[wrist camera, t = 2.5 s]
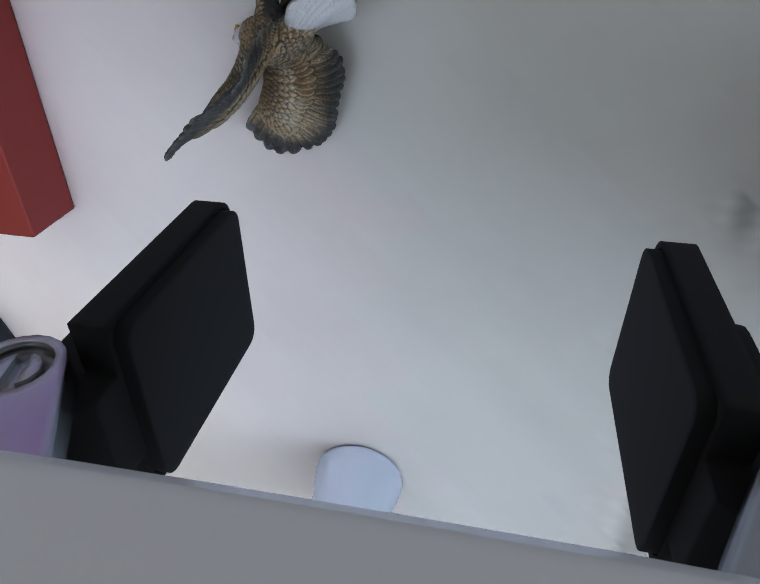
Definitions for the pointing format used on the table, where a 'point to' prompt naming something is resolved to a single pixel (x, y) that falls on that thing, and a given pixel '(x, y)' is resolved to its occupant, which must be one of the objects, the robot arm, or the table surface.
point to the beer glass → (357, 479)
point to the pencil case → (25, 144)
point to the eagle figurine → (281, 76)
